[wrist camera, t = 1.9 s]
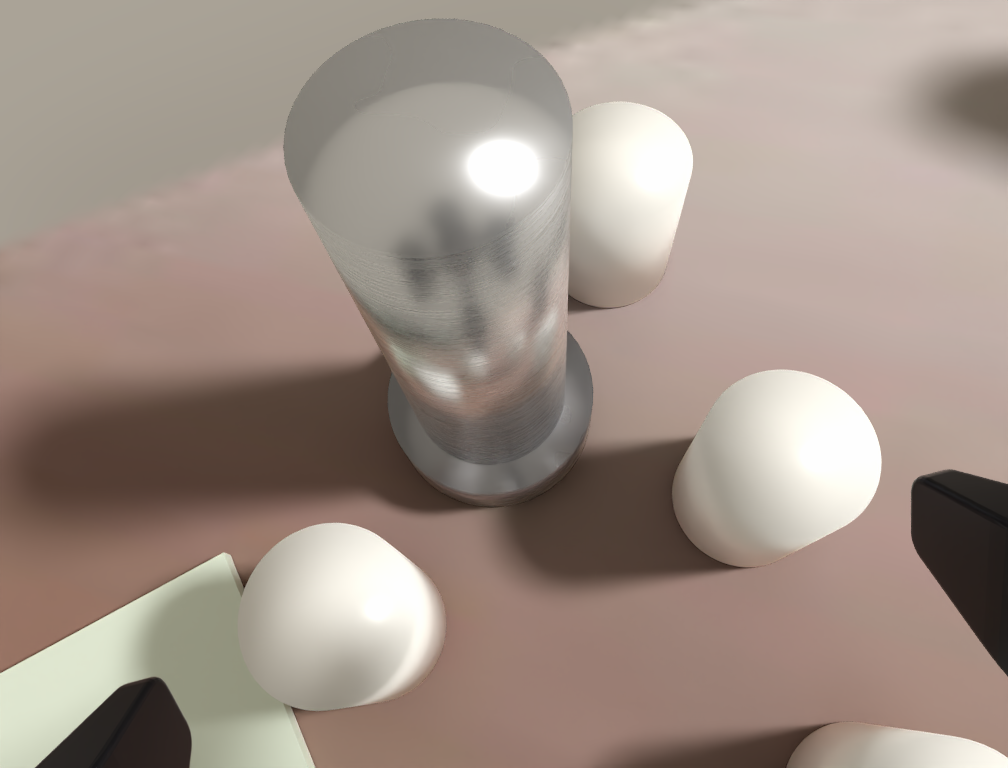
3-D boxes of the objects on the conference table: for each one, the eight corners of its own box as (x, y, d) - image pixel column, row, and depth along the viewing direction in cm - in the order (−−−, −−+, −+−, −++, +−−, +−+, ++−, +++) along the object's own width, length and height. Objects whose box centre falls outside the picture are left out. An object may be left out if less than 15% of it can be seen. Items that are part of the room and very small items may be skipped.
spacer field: (1076, 780, 19) (1249, 814, 14) (522, 1162, 17) (508, 1350, 12) (626, 186, 26) (641, 80, 21) (204, 403, 24) (119, 338, 19)
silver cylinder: (627, 445, 23) (708, 181, 11) (453, 543, 22) (326, 380, 10) (530, 295, 25) (504, -68, 13) (368, 380, 24) (178, 80, 12)
